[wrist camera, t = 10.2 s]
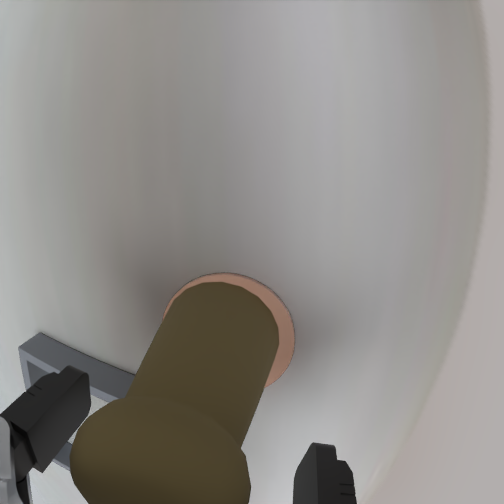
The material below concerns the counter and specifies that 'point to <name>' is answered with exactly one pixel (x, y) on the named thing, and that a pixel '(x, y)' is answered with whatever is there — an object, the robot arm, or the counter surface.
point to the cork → (184, 407)
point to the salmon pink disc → (272, 303)
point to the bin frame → (59, 356)
